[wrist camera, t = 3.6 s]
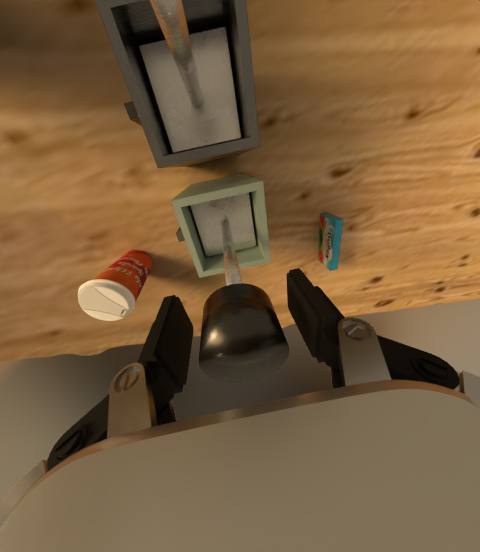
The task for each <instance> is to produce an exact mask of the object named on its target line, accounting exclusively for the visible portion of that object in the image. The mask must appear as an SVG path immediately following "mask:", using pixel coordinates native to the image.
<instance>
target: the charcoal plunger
mask: <svg viewBox="0 0 480 552" xmlns="http://www.w3.org/2000/svg"><path fill="white" fill-rule="evenodd" d="M150 2H151V4H152V7H153V9H154V12H155V14H156V17H157V19H158V22H159V24H160V26H161V29H162V31H163V34H164V36H165V39H166V40H163V41H159V42H154V43H150V44H145V45H141V46H139V48H140V51H141V54H142V57H143V60H144V63H145V66H146V70H147V73H148V76H149V79H150V82H151V85H152V88H153V91H154V94H155V98H156V101H157V104H158V107H159V110H160V113H161V116H162V119H163V122H164V125H165V129H166V132H167V135H168V138H169V141H170V144H171V147H172V150H173V153H177V152H181V151H186V150H191V149H195V148H200V147H204V146H209V145H213V144H218V143H222V142H227V141H232V140H236V139H240V138H241V134H240V127H239V120H238V113H237V106H236V99H235V91H234V84H233V77H232V70H231V63H230V56H229V49H228V42H227V34H226V27H222V28H217V29H213V30H208V31H204V32H199V33H195V34H190V35H189V33H188V28H187V23H186V19H185V14H184V9H183V5H182V0H150Z"/></svg>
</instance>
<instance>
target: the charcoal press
mask: <svg viewBox="0 0 480 552" xmlns="http://www.w3.org/2000/svg"><path fill="white" fill-rule="evenodd" d="M95 2H96V5H97V7H98V10H99V13H100V15H101V18H102V21H103V23H104V26H105V29H106V31H107V34H108V37H109V39H110V42H111V44H112V47H113V50H114V52H115V55H116V58H117V60H118V63H119V66H120V68H121V71H122V74H123V76H124V79H125V82H126V84H127V87H128V90H129V92H130V95H131V98H132V100H133V102H128V103H124V105H125V107H126V110H127V112H128V115H129V117H130V120H132V121H134V122H136V123H138V124H139V125H141V126H142V127H143V129H144V132H145V135H146V137H147V140H148V143H149V145H150V148H151V151H152V153H153V156H154V159H155V161H156V164H157V167H158V168H168V167H184V166H190V165H194V164H199V163H204V162H208V161H213V160H217V159H222V158H226V157H231V156H236V155H240V154H242V153H244V152H247V151H249V150H251V149H254V148H256V147H258V146H260V143H259V132H258V122H257V111H256V101H255V90H254V80H253V69H252V59H251V48H250V38H249V27H248V17H247V7H246V0H182V5H183V9H184V14H185V19H186V23H187V28H188V33H189V35H190V34H195V33H199V32H204V31H208V30H213V29H217V28H222V27H226V34H227V42H228V49H229V56H230V63H231V70H232V77H233V84H234V91H235V99H236V106H237V113H238V120H239V127H240V134H241V138H240V139H236V140H232V141H227V142H222V143H218V144H213V145H209V146H204V147H200V148H195V149H191V150H186V151H181V152H177V153H173V150H172V147H171V144H170V141H169V138H168V135H167V132H166V129H165V125H164V122H163V119H162V116H161V113H160V110H159V107H158V104H157V101H156V98H155V94H154V91H153V88H152V85H151V82H150V79H149V76H148V73H147V70H146V66H145V63H144V60H143V57H142V54H141V51H140V48H139V46H141V45H145V44H150V43H154V42H159V41H163V40H166V39H165V36H164V34H163V31H162V29H161V26H160V24H159V22H158V19H157V17H156V14H155V12H154V9H153V7H152V4H151V2H150V0H95Z"/></svg>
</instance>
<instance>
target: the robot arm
mask: <svg viewBox="0 0 480 552" xmlns="http://www.w3.org/2000/svg"><path fill="white" fill-rule="evenodd" d="M287 295H288V308H289V311H290V313H291V315H292V317H293V319H294V321H295V323H296V325H297V327H298V329H299V331H300V333H301V335H302V337H303V339H304V341H305V343H306V345H307V347H308V349H309V351H310V353H311V355H312V356H313V357H316V358H317V360H318V362H319V363H320V362H325V363H326V365H328V366H330V367H331V379H332V389H328V390H323V391H319V392H314V393H309V394H304V395H299V396H294V397H290V398H285V399H280V400H275V401H270V402H266V403H261V404H256V405H251V406H247V407H242V408H237V409H233V410H229V411H223V412H218V413H214V414H209V415H205V416H200V417H196V418H191V419H186V420H182V421H177V420H176V416H175V412H174V407H173V404H172V398H173V397H174V394H175V393H179V392H182V389H183V385H185V384H186V380H187V373H188V366H189V359H190V352H191V345H192V338H193V325H192V323H191V321H190V319H189V317H188V315H187V313H186V311H185V309H184V307H183V305H182V303H181V301H180V299H179V297H176V296H175V295H173V296H168V297H165V298H164V299H163V302H162V304H161V307H160V309H159V312H158V314H157V317H156V320H155V322H154V323H153V325H152V327H151V330H150V332H149V335H148V337H147V340H146V342H145V345H144V347H143V350H142V352H141V355H140V357H139V360H138V362H137V363H133V364H130V365H128V366H126V367H125V368H123V369H122V370H121V371H120V372H119V373H118V374H117V375H116V376H115V378H114V379H113V381H112V383H111V386H110V394H109V395H107V396H106V397H105V398H104V399H103V400H102V401H101V402H100V403H98V404H97V405H96V406H95V407H94V408H93V409H92V410H90V411H89V412H88V413H87V414H86V415H85V416H84V417H82V418H81V419H80V420H79V421H78V422H77V423H76V424H74V425H73V426H72V427H71V428H70V429H69V430H68V431H67V432H66V433H65V434H64V435H63V436H62V437H61V438H60V439H59V440H58V442H57V443H56V444H55V446H54V447H53V449H52V451H51V453H50V455H49V458H48V460H47V461H46V460H42V461H41V462H40V463H39V464H38V465H37V466H36V467H34V468H33V469H32V470H31V471H30V472H29V473H28V474H27V475H26V476H25V477H24V478H23V479H22V480H21V481H20V482H18V483H17V484H16V485H15V486H14V487H13V488H12V489H11V490H10V491H9V492H8V493H7V494H6V495H5V496H3V498H1V499H0V552H480V377H478V376H475V375H473V374H470V373H468V372H465V371H462V372H461V373H459V372H457V371H455V370H454V368H453V367H451V366H450V365H449V364H448V363H447V362H445V361H444V360H442V359H441V358H439V357H437V356H435V355H432V354H430V353H427V352H424V351H421V350H419V349H416V348H413V347H410V346H407V345H404V344H401V343H398V342H396V341H393V340H390V339H387V338H384V337H381V336H378V335H376V332H375V330H374V328H373V327H372V326H371V325H370V324H369V323H367V322H366V321H363V320H361V319H358V318H353V317H351V318H350V317H348V318H345V317H344V316H343V315H342V314H341V313H340V311H339V310H338V309H337V308H336V307H335V305H334V304H333V303H332V302H331V301H330V299H329V298H328V297H327V296H326V295H325V293H324V292H323V291H322V290H321V289H320V288H319V287H318V286H315V287H314V286H313V285H312V283H311V282H310V281H309V280H308V278H307V277H306V276H305V275H304V273H303V272H302V271H301V270H300V269H299V268H298V269H293V270H290V271H289V273H287Z"/></svg>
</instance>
